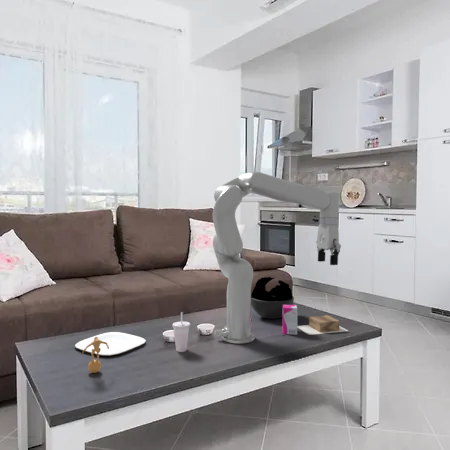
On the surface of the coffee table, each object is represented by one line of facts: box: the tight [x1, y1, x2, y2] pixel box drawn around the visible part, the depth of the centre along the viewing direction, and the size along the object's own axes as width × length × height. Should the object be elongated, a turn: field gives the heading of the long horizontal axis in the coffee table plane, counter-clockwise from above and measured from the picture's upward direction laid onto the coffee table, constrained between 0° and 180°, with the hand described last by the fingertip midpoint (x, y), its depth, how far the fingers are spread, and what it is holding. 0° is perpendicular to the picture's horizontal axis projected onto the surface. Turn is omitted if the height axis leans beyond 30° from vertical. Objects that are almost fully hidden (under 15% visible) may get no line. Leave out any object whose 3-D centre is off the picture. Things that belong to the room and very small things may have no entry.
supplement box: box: [282, 304, 298, 337], centre depth 178 cm, size 6×6×12 cm
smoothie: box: [172, 311, 191, 353], centre depth 159 cm, size 6×6×14 cm
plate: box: [74, 331, 147, 357], centre depth 163 cm, size 22×22×2 cm
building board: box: [297, 324, 349, 336], centre depth 184 cm, size 18×12×1 cm, turn 108°
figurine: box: [82, 337, 109, 374], centre depth 137 cm, size 8×6×12 cm
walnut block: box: [308, 314, 341, 332], centre depth 184 cm, size 9×9×4 cm
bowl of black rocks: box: [251, 276, 295, 320], centre depth 201 cm, size 20×20×19 cm
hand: (327, 263), depth 182 cm, fingers open, 9 cm apart
